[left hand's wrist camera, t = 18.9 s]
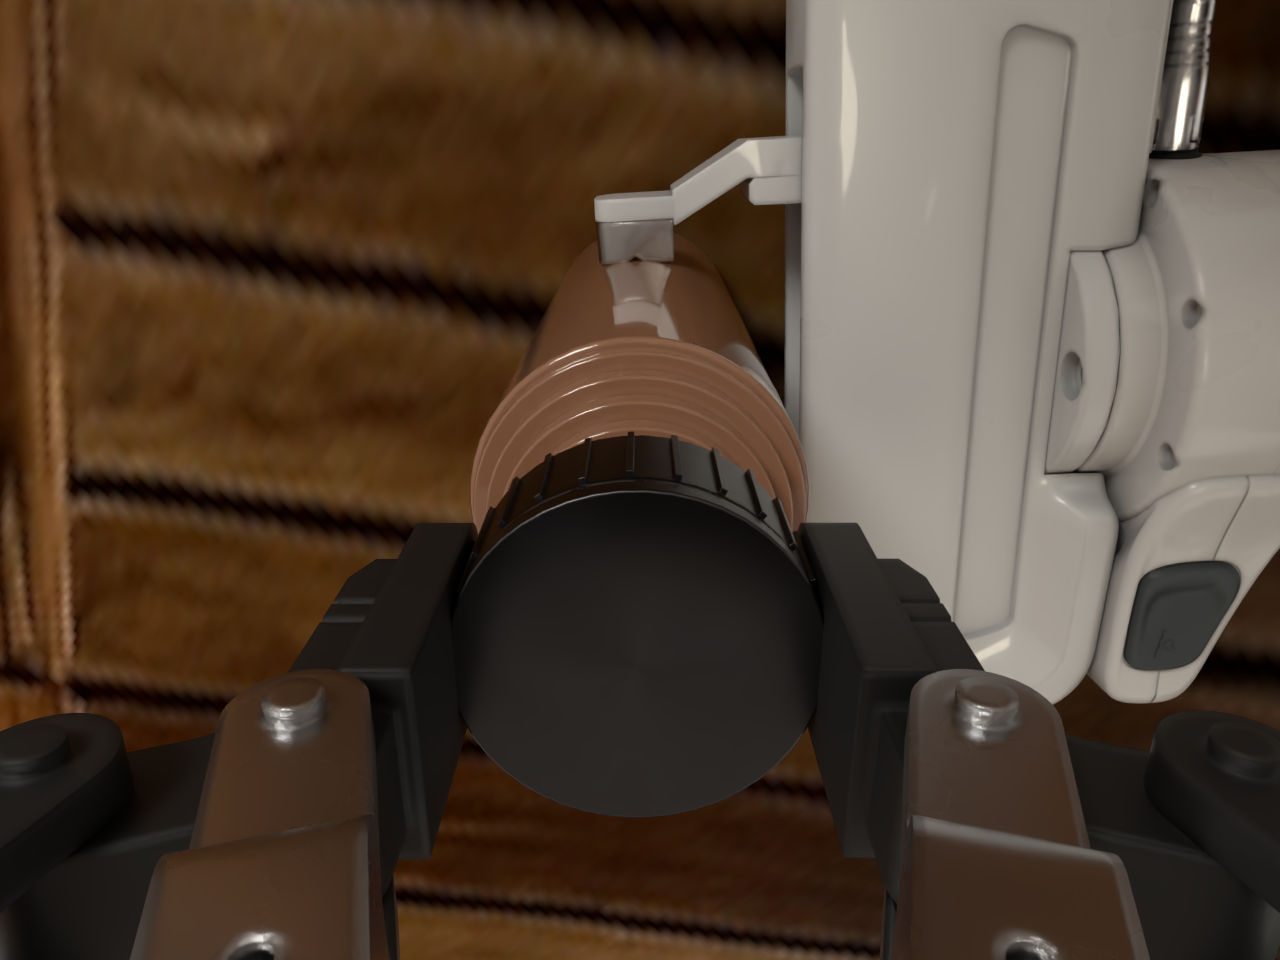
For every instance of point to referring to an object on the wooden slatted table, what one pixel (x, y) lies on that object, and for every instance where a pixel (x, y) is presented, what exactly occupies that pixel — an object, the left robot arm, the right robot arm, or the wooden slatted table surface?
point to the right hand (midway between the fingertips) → (606, 371)
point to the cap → (637, 629)
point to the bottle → (642, 378)
